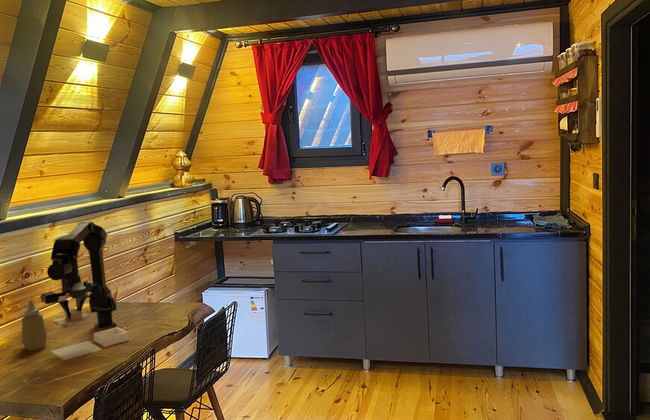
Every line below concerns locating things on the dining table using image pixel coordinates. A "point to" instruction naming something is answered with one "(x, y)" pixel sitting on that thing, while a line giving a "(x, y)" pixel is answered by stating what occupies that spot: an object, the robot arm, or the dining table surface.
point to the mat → (76, 350)
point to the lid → (74, 319)
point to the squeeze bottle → (33, 328)
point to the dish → (111, 336)
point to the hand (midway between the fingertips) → (74, 317)
